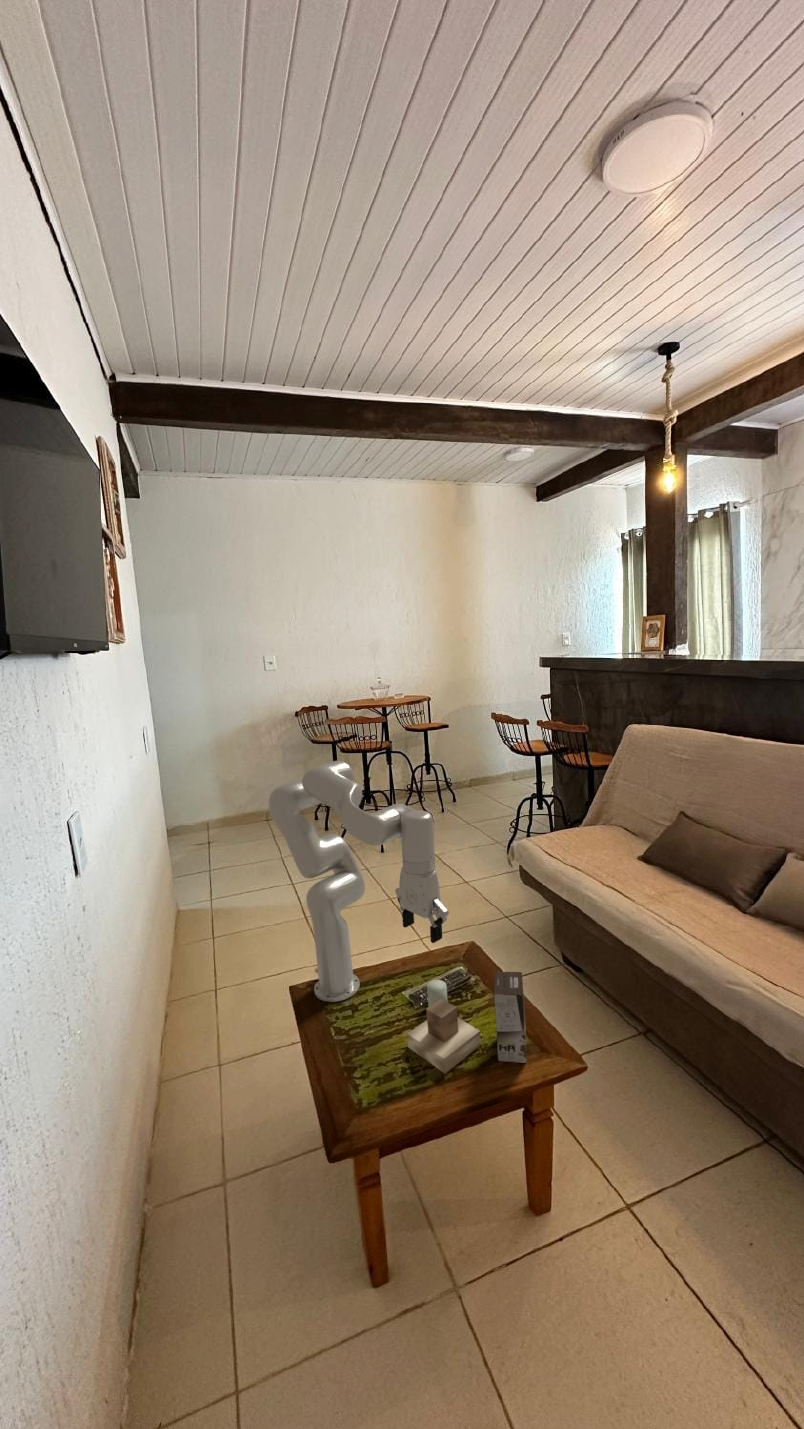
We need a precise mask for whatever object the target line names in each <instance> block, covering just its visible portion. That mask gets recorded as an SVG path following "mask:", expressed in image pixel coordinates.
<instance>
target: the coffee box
mask: <svg viewBox="0 0 804 1429" xmlns="http://www.w3.org/2000/svg"><path fill="white" fill-rule="evenodd" d="M523 983H524V981H523V972H522V971H495V972H494V983H493V984H494V985H493V986H494V987H493V994H494V995H493V997H494V1011H495V1027H496V1030H495V1031H496V1042H497V1059H498V1062H506V1063H507V1062H510V1063H521V1064H525V1063H527V1032H526V1031H527V1029H526V1011H525V996H524V995H525V994H524V984H523Z"/></svg>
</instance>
